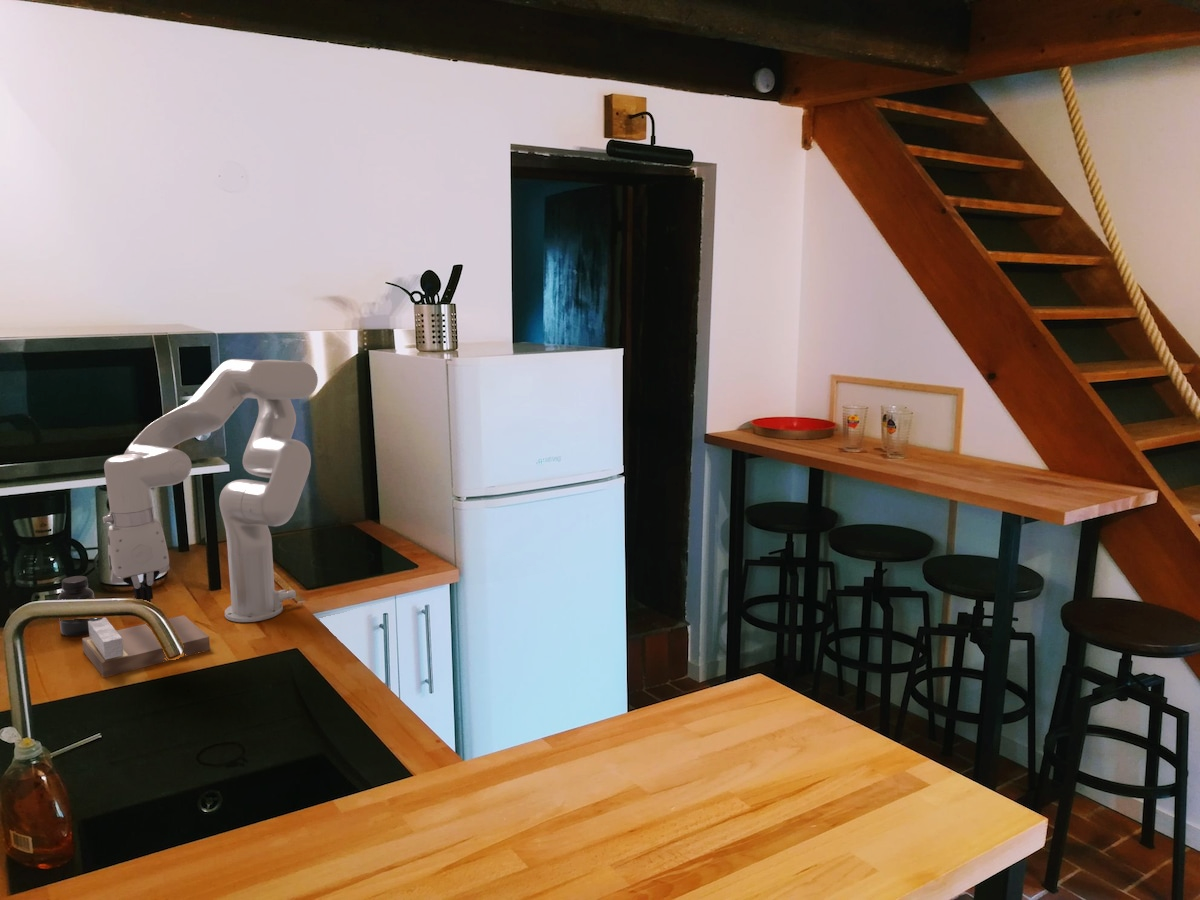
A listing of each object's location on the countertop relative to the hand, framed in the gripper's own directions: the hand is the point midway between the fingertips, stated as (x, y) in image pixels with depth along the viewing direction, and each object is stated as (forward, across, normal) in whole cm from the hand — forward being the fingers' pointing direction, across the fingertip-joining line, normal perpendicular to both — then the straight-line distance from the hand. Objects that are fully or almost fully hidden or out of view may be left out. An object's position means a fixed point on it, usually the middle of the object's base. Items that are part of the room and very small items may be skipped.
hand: (144, 603), depth 179 cm
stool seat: (+12, 0, +3) cm, 12 cm away
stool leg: (+8, -8, +3) cm, 11 cm away
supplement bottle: (+12, -8, +24) cm, 28 cm away
